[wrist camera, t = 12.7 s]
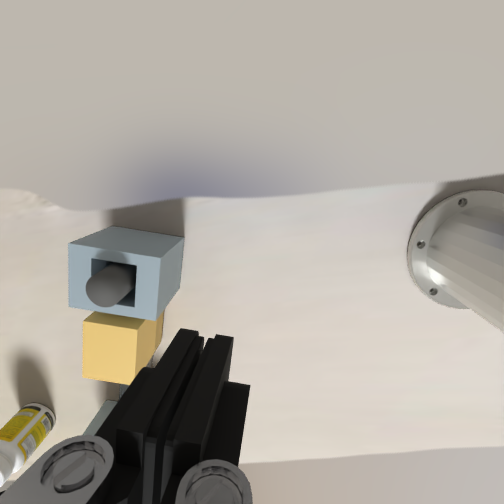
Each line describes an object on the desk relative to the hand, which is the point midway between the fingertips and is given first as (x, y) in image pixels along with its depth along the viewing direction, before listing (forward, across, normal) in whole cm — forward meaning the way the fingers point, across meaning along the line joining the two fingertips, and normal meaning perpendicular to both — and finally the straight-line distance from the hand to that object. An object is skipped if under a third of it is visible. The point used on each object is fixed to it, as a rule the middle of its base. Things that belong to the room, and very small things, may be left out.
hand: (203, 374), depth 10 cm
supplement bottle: (+24, +26, +30) cm, 46 cm away
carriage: (+25, +12, +12) cm, 30 cm away
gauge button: (+19, +12, +5) cm, 23 cm away
